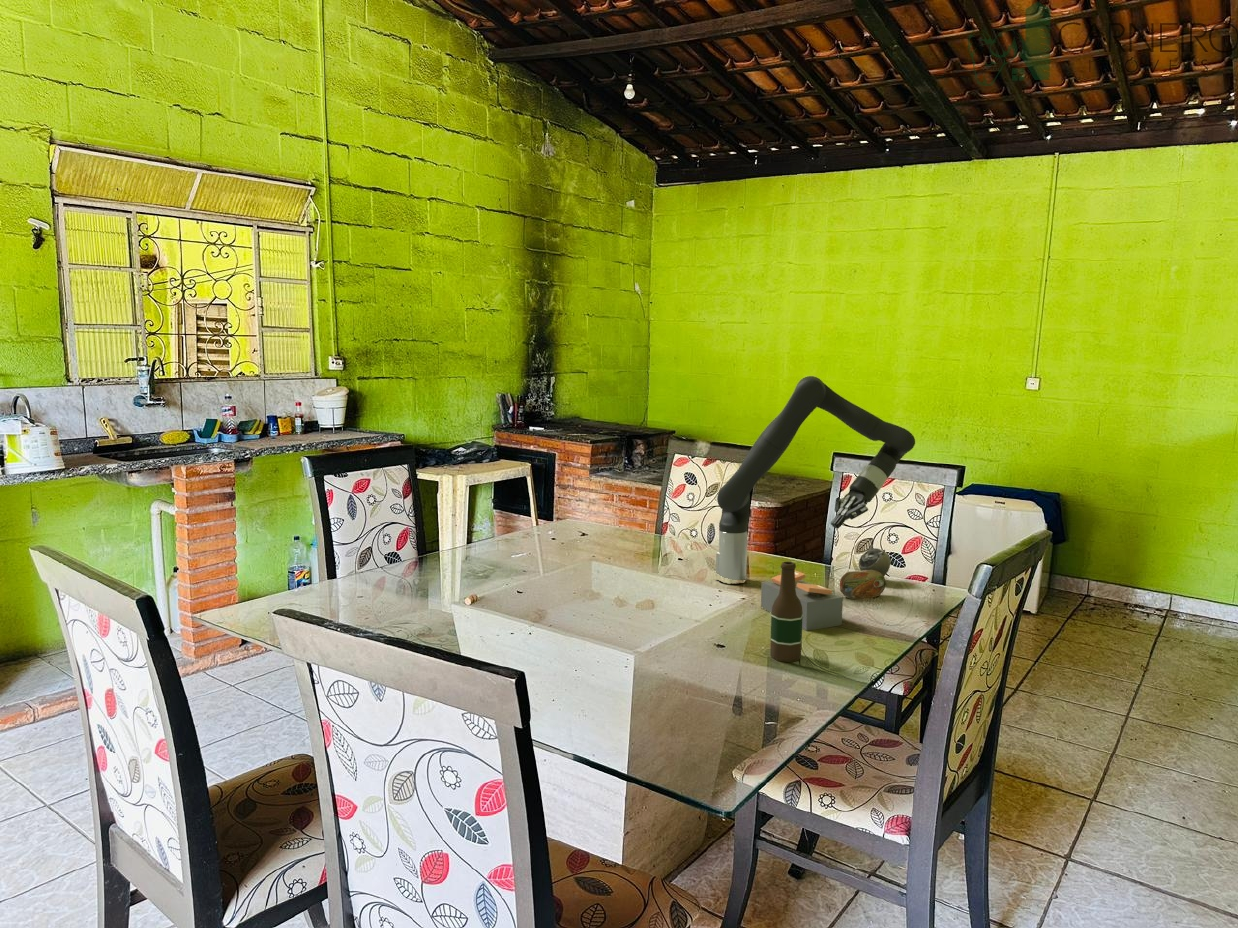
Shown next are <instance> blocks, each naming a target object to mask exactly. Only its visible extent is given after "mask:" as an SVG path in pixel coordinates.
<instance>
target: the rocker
mask: <svg viewBox="0 0 1238 928" xmlns="http://www.w3.org/2000/svg"><path fill="white" fill-rule="evenodd" d="M806 578H807V577H806V574H805V573H803V572H800V571H798V570H796V569H795V582H797V581H799V580H802V581H803V580H804V579H806ZM771 581H772V582H774V583H776V584H778V585H780V584H781V574H778V575H776V576H773V577H771Z"/></svg>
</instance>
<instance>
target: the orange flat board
mask: <svg viewBox="0 0 1238 928" xmlns="http://www.w3.org/2000/svg"><path fill="white" fill-rule="evenodd" d="M796 587H798V588H800V589H802V590H805V591H807V592H812V593H821V594H830V595H831V594H832V593H833V590H832V589H830V588H828V587H825V586H822V585H819V584H812V583H810V584H804V583H797V586H796Z"/></svg>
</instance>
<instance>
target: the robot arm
mask: <svg viewBox="0 0 1238 928" xmlns="http://www.w3.org/2000/svg"><path fill="white" fill-rule="evenodd" d="M816 408H819V409H820V410H823V411H826V412H827V413H828V414H831V415H833V416H834V417H836V418H837V419H838V420H840V421H841V422H842V423H844V424H845V425H846V426H847V427H849V428H850V429H852V430H853V431H855V432H857V433H858V434H860V435H861V436H863V437H865V438H867V439H868V440H870V441H873V442H876V441H877V442H878V441H880V442H883V444H882V446H881V448H879V451H878V452H877V454H876V455H874V457H873V458H872V459H871V461H870V462H869V463H868V464H867V465H866V466H865V468H863V469H861V471H860V473H859V474H858V476H856V477H855V479H854V480H853V482H852V483H851V484H850V485H849V489H848V490H849V492H847V493H845V495H844V497H841V498H840V497H836V499H835V502H834V512H835V513H836V515H835V517H834V518H833V519H832V520H831V522H830V525H831V526H832V527H833V528H834V529H837V530H838V529H839V528H840V527H841V526H843V524H844V523H845V522H846V521H848V520H849V519H850V520H854V519H856V518H858V517H860V516H862V515H863V514H865V513H866V512H868V511H869V508H868V506H867V503H870V502H872V500H873V499H874V497H876V495H877V494H878V492H879V491H880V490H881V489H882V488H883V486H885V483H886V481H887V480H888V479H889V477H890V476H891V475H892V473H893V472H894V471H895V470H896V466H897V464H898V463H899V462H900V460H902V458H904V457H905V455H906V454H907V453H909V452H910V451H912V450H913V448H914V447H915V445H916V439H915V436H914V434H913V433H911V431H910V430H908V429H906V428H904V427H902V426H899V425H896V424H894V423H892V422H891V423H890V422H888V421H884V420H883V419H882V418H880V417H878V416H876V415H875V414H873V413H871V412H869V411H867V409H866V410H865V409H864V408H862V407H861V406H858V405H856V404H855V403H853V402H851V401H850V400H847V399H845V398H844V397H843V396H842V395H840V394H839V393H837V392H836V391H834V390H833V389H832V388H831V387H829V386H828V385H827V384H826V383H824V382H823V381H822V379H820V378H819V377H817V376H813V375H810V376H805V377H803V378H801V379H800V380H799V381H798V382H797V384H796V386H795V389H794V391H793V393H792V394H791V396H790V398H789V399H788V401H787V403H786V404H785V406H784V408H783V409H782V410H781V412H779V414H778V415H777V416H776V417H775V418H773V420H772V421H771V422H770V423H769V424H768V425H767V426H766V427H765V429H764V430H763V431H762V432H761V434H760V435H759V436H758V437H757V439H756V440H755V441H754V443H753V445H752V447H750V449H749V451H748V452H747V454H746V456H745V458H744V459H743V461H742V463H741V464H740V466H739V467H738V469H737V470H736V471H735V472H734V474H732V476H731V477H730V478H729V479H728V480H727V481H726V482H725V484H724V485H722V486H721V487H720V489H719V491H718V493H717V504H718V507H719V508H720V509H721V516H720V520H719V522H718V551H716V553H715V574H716V573H717V574H719V575H720V576H722V577H724V578H728V579H732V580H745V579H746V580H747V555H748V554H747V552H748V525H749V520H750V506H751V504H750V503H751V494H750V493H751V491H752V490H753V488H754V487H755V485H756V484H757V483H758V481H759V480H761V479H762V478H763V477H764V475H766V474H767V473H769V471H770V470H771V468H773V467H774V465H775V464H776V463H777V462H778V461H779V460H780V459H781V457H782V456H783V455H784V453H785V451H787V449H788V448H789V446H790V444H791V442H792V441H793V440H794V438H795V436H796V434H797V432H798V431H799V429H800V428H801V426H802V424H803V423H804V422H805V420H806V419H808V417H809V416H810V415H811V414H812V412H814V410H816Z"/></svg>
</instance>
